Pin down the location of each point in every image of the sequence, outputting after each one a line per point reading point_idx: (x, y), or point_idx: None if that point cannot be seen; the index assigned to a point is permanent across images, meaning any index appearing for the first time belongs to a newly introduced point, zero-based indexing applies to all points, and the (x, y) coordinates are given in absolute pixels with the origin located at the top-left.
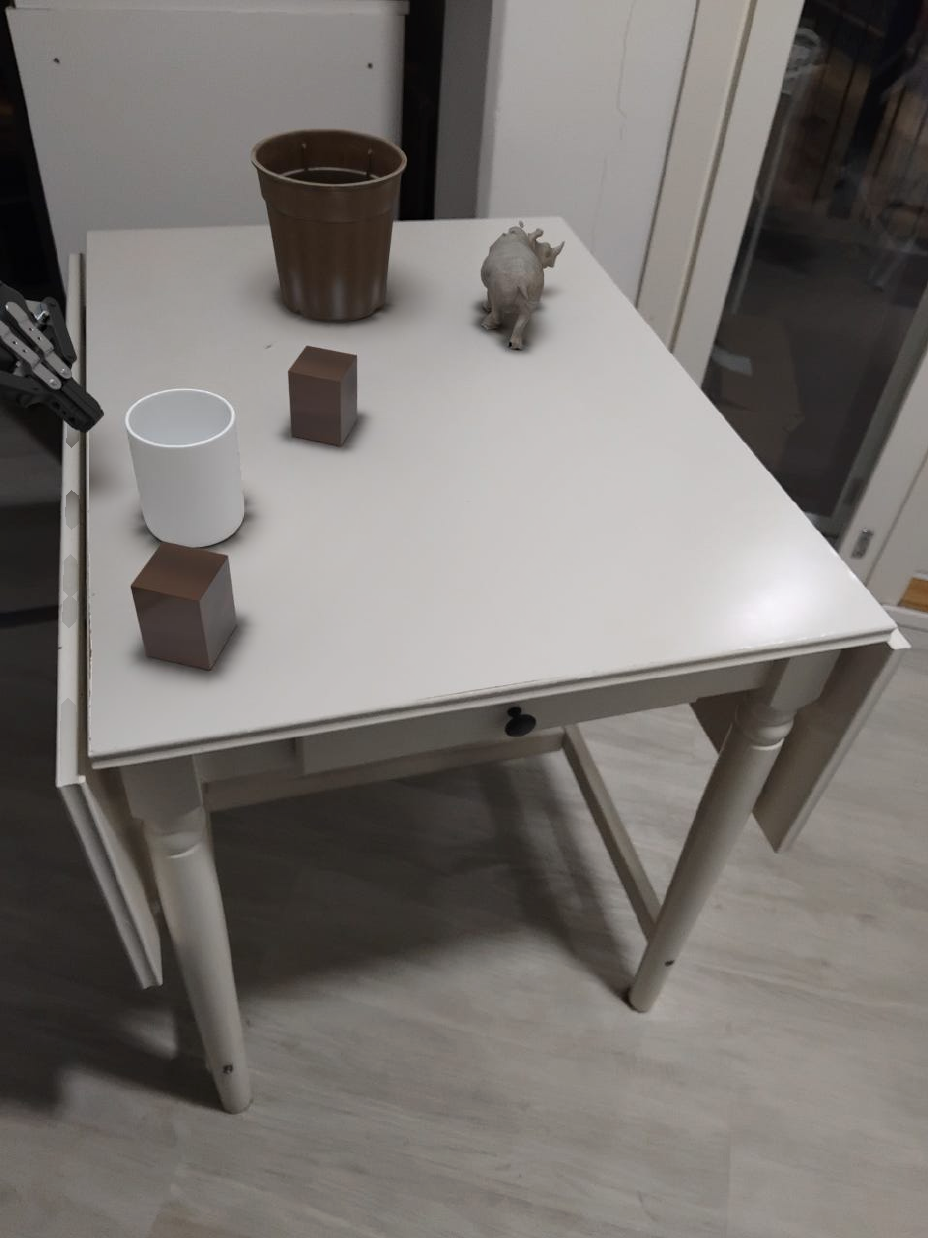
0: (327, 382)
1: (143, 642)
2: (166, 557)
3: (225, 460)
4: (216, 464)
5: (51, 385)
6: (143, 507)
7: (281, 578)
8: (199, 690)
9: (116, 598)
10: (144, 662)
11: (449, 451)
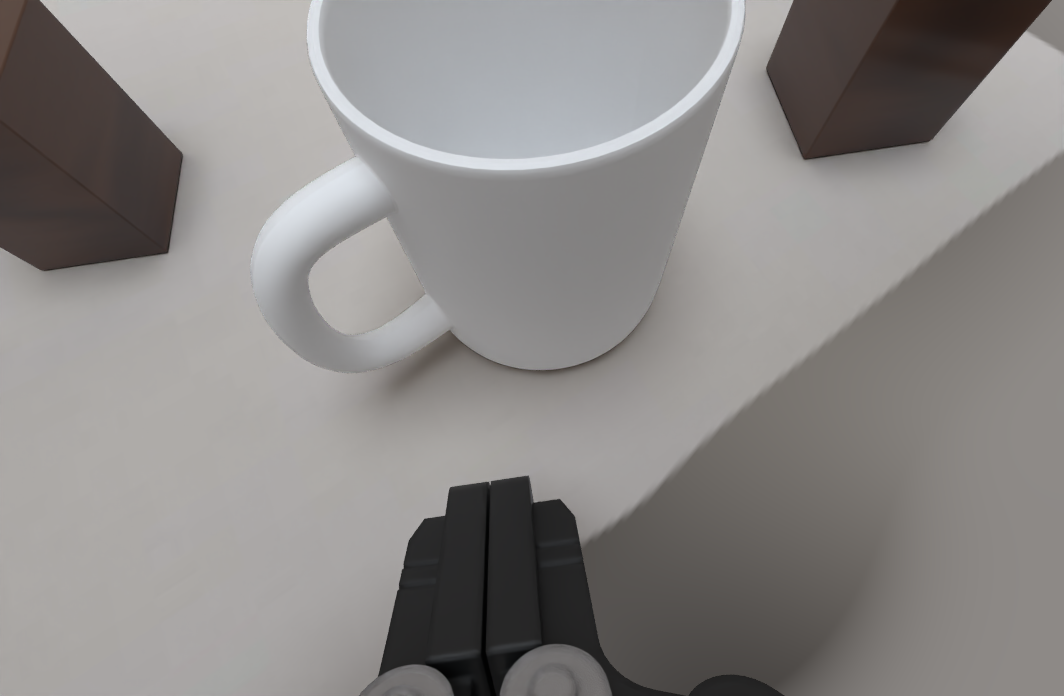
0: (32, 27)
1: (954, 112)
2: None
3: None
4: None
5: (599, 680)
6: (653, 289)
7: None
8: None
9: (851, 266)
10: (943, 136)
11: (152, 7)
